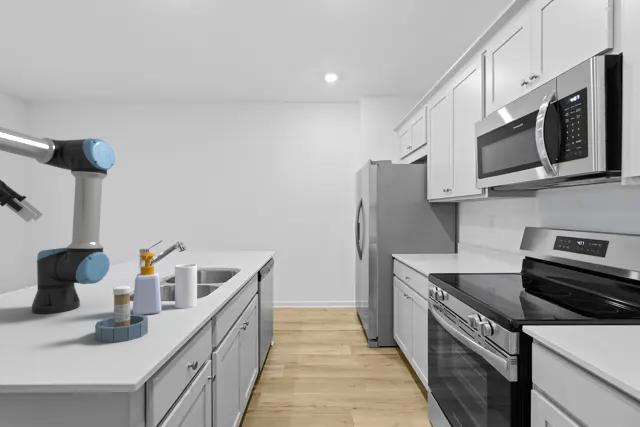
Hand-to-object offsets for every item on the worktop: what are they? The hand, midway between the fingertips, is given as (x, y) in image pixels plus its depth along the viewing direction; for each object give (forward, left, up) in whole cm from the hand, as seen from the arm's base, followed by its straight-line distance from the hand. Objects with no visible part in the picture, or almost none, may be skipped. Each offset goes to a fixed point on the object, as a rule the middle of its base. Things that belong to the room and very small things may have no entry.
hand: (36, 218), depth 109 cm
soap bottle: (-2, +35, -36) cm, 50 cm away
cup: (0, +50, -36) cm, 61 cm away
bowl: (+14, +18, -36) cm, 42 cm away
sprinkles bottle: (+14, +18, -35) cm, 41 cm away
